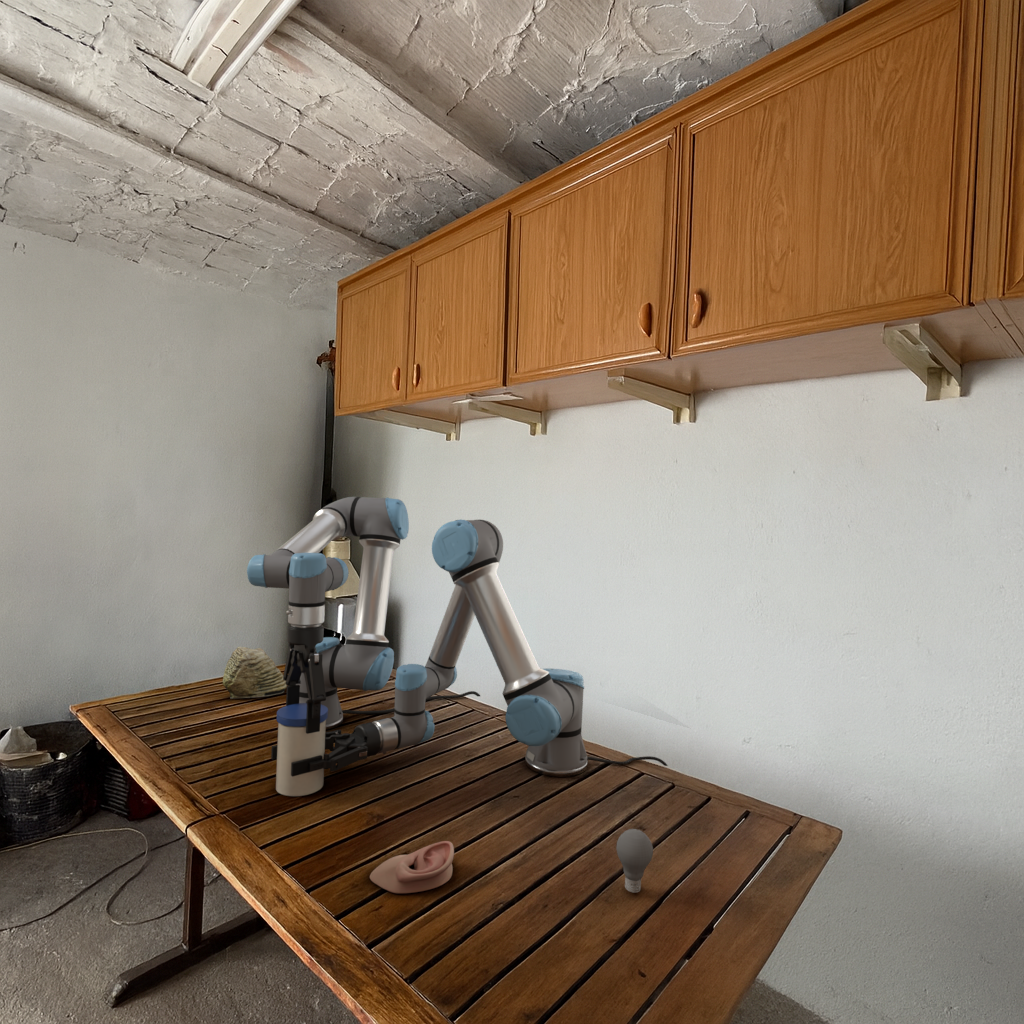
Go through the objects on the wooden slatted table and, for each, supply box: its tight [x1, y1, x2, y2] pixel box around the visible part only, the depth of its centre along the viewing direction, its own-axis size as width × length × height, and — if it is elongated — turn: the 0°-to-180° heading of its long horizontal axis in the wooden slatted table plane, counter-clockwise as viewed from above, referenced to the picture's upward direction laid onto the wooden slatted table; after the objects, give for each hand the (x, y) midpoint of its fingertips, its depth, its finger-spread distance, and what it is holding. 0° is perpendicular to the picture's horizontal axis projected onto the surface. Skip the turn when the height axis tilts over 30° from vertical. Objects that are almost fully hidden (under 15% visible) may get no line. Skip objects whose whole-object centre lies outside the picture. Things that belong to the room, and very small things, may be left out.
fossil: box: [222, 646, 288, 699], centre depth 198 cm, size 9×18×15 cm, turn 132°
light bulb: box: [615, 828, 654, 894], centre depth 106 cm, size 6×6×10 cm
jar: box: [275, 720, 327, 797], centre depth 138 cm, size 10×10×16 cm
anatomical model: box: [369, 840, 455, 894], centre depth 107 cm, size 13×4×12 cm
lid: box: [276, 703, 328, 727], centre depth 138 cm, size 11×11×2 cm
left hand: (302, 723), depth 138 cm, fingers open, 12 cm apart
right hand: (281, 760), depth 135 cm, fingers closed on jar, 10 cm apart
